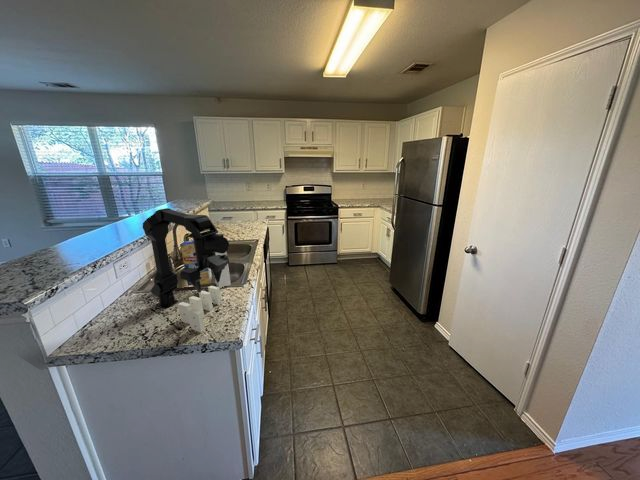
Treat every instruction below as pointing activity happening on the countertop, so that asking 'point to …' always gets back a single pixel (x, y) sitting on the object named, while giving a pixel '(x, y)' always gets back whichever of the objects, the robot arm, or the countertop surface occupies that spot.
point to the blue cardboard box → (190, 262)
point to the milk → (223, 275)
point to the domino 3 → (196, 320)
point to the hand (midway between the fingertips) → (209, 286)
